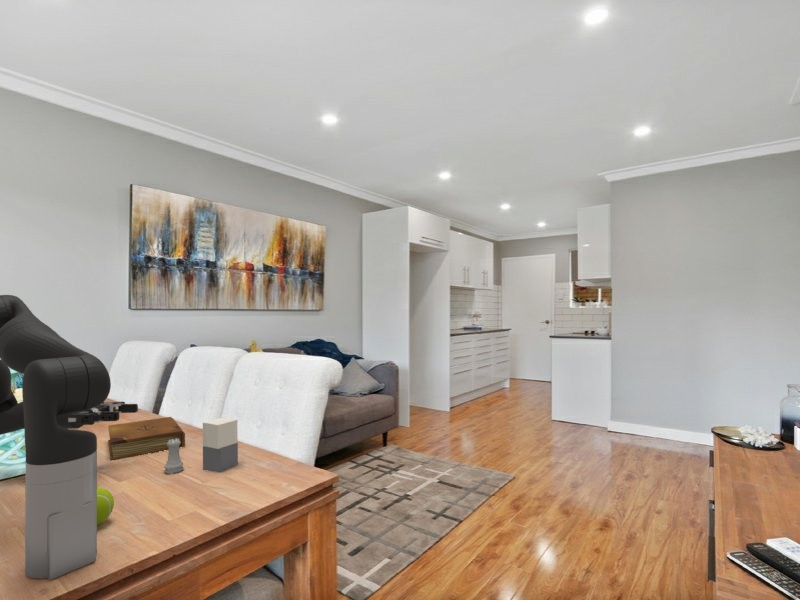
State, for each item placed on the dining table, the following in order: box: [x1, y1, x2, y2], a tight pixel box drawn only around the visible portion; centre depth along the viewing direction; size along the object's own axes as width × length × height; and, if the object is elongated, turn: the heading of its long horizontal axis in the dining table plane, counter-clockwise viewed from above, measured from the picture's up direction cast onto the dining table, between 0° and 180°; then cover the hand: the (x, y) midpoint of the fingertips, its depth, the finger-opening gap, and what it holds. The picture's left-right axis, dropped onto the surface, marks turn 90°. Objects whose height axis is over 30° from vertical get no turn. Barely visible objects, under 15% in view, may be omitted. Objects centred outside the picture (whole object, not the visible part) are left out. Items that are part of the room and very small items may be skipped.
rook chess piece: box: [163, 438, 184, 475], centre depth 111 cm, size 4×4×8 cm
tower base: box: [202, 443, 239, 473], centre depth 113 cm, size 6×6×6 cm
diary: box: [108, 416, 186, 461], centre depth 135 cm, size 23×19×6 cm
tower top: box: [202, 416, 239, 449], centre depth 113 cm, size 6×6×6 cm
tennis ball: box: [97, 486, 115, 526], centre depth 82 cm, size 7×7×7 cm
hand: (128, 412), depth 110 cm, fingers open, 8 cm apart
